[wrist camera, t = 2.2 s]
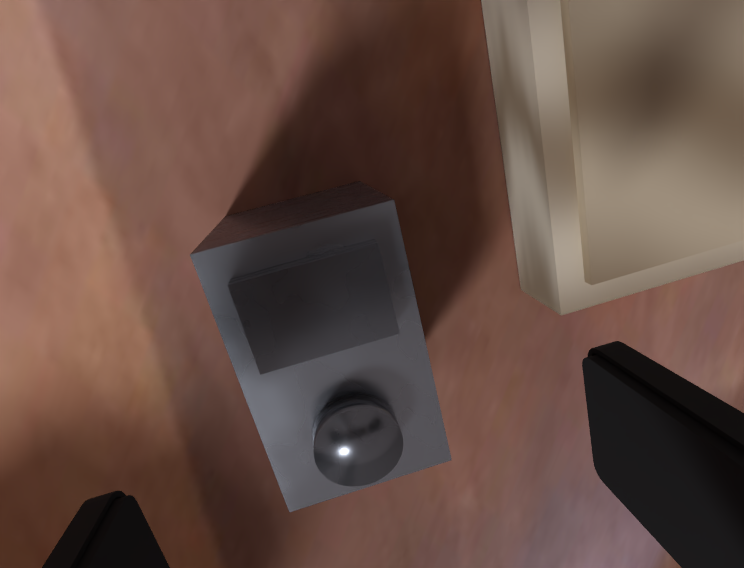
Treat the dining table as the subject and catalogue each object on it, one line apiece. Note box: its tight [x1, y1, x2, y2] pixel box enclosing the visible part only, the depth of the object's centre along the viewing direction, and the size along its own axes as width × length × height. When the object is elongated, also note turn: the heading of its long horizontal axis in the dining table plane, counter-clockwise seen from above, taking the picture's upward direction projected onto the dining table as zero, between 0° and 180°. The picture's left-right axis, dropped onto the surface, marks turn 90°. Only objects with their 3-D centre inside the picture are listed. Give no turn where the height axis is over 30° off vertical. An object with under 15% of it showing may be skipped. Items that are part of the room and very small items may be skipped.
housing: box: [190, 181, 451, 512], centre depth 15 cm, size 8×5×7 cm, turn 13°
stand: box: [481, 0, 744, 315], centre depth 16 cm, size 12×12×3 cm
